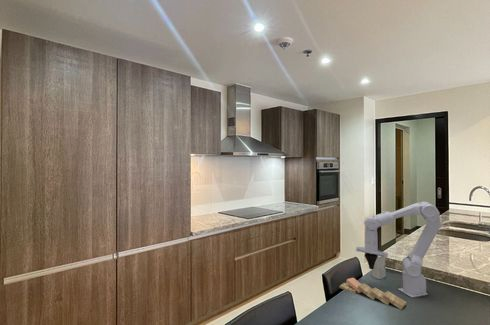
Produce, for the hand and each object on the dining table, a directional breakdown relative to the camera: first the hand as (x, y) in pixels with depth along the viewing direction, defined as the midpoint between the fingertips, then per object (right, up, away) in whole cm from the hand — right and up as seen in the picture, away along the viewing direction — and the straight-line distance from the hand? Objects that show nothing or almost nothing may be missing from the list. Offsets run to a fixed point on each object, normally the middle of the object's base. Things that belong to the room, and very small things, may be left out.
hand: (371, 268), depth 134 cm
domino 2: (-7, -8, -6) cm, 12 cm away
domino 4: (+1, -9, -15) cm, 17 cm away
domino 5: (+5, -9, -19) cm, 21 cm away
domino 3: (-3, -9, -11) cm, 14 cm away
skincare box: (+9, -9, +12) cm, 18 cm away
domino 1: (-9, -9, -4) cm, 13 cm away
